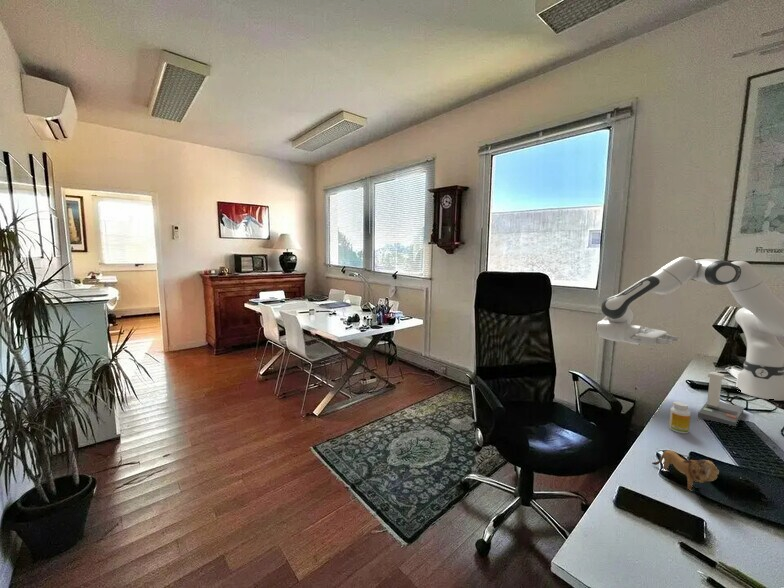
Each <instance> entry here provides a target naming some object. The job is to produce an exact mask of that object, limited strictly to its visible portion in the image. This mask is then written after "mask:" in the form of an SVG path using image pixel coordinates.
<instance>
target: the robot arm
mask: <svg viewBox="0 0 784 588" xmlns="http://www.w3.org/2000/svg"><path fill="white" fill-rule="evenodd" d="M689 281H695V282H699V283H702V284H707V285H708V284H709V285H714V286H723V285H724V286H726V287H727V289H728V290H729V292H730V293H731V296H732V297H733V298H734V300H735V302H737V304H738V305H739V306H740V307H741V308H739V309H737V312H735V315H734V319H735V322H736V323H737V324H738V325H739V326H740V327H741V329H742V331H743V333H744V337H745V340H746V356H745V360H744V362H743V369H742V370H740V371H738V372H737V378H736V382H735V384H736V387H738V388H739V389H740V390H741V392H740V393H742V394H745V395H746V396H747V395H748V396H751V397H754V398H759V399H763V400H769V399H774V400H773V401H784V346H783V345H782V343H781V342H780V341H778V339H777V336H778V337H784V302H783V301H782V300H780V299H779V298H778V297H777V296H776V295H775V294H774V293H773V292H772V291H771V289H770V288H769V286H768V285H767V283H766V282H765V280H764V279H763V278H762V276H761V274H760V273H759V272H758V271H757V270H756V269H755V268H754V267H753V266H752V265H751V264H750V263H749V262H747V261H745V260H734V261H727V260H723V259H716V258H704V257H703V258H696V259H694V258H691V257H688V256H679V257H677V258H675V259H673V260H671V261H669V262H668V263H666V264H665V265H663V266H661V268H659V269H658V270H657V271H655V272H654V273H652V274H651V275H649V276H646V277H644V278H641V279H640V280H639V281H637V282H635V283H634V284H632V285H630V286H629V287H627V288H625V289H624V290H622V291H621V292H620V293H617V294H615V295H612V296H609V297H608V298H606V299H604V300H603V302H602V304H601V312H602V313H603V315H604V316H605V317H603V318H602V319H601V320H599V321H597V323H596V326H595V329H596V330H595V332H596V333H597V335H598V336H599V338H602V339H605V340H609V341H613V342H623V343H625V344H632V345H635V346H636V345H637V346H640V345H645V346H651V347H652V346H653V347H654V346H657V345H658V344H660V345H672V344H673V342H679V336H676V335H675V336H674V335H671V334H668V332H667V331H666V330H662V329H658V328H657V329H656V328H650V327H647V326H646V325H639V324H638V325H637V324H632V323H633V321H634V318H635V317H634V316H635V315H634V313H633V311H632V310H631V308H630V306H631V305H632V304H633V303H635V302H636V301H637V300H639V299H641V298H642V297H644V296H645V295H648V294H650V293H653V294H657V295H664V296H665V295H669V294H671V293H673V292H675V291H677V290H678V289H679V288H681V287H682V286H683V285H685V284H686V283H687V282H689Z"/></svg>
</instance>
